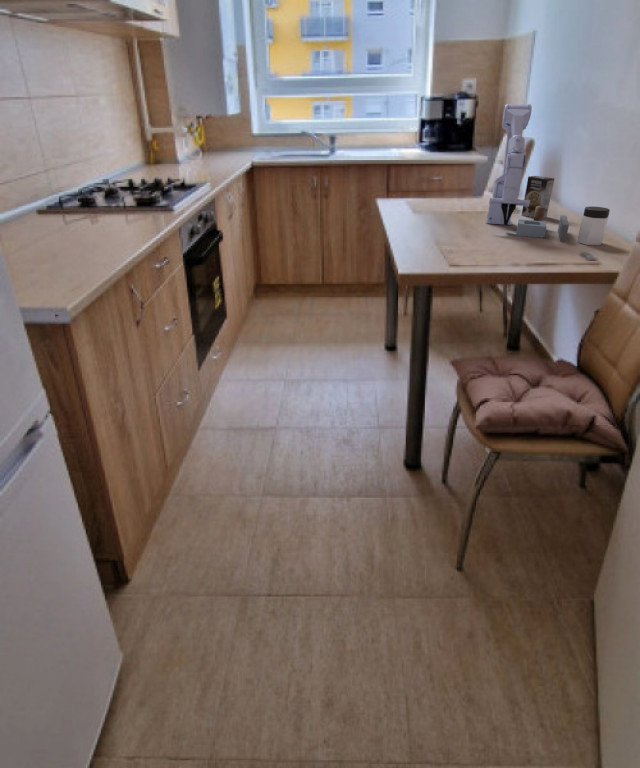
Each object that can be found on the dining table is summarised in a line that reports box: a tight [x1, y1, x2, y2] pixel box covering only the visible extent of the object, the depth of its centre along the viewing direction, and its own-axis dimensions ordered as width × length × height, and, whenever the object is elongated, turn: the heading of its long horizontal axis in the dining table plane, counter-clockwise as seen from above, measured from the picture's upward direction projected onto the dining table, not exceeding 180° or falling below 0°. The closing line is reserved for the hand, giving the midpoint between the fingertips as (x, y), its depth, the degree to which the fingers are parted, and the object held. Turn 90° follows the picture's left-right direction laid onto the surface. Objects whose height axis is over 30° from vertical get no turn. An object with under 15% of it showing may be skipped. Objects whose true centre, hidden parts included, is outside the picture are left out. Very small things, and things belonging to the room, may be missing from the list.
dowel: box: [533, 206, 546, 221], centre depth 227 cm, size 4×4×8 cm
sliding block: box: [515, 218, 547, 238], centre depth 219 cm, size 10×10×4 cm
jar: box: [576, 206, 611, 246], centre depth 205 cm, size 9×8×12 cm
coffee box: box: [520, 175, 555, 218], centre depth 246 cm, size 9×6×16 cm
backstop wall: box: [557, 214, 570, 242], centre depth 215 cm, size 2×18×6 cm, turn 162°
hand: (505, 224), depth 221 cm, fingers closed
